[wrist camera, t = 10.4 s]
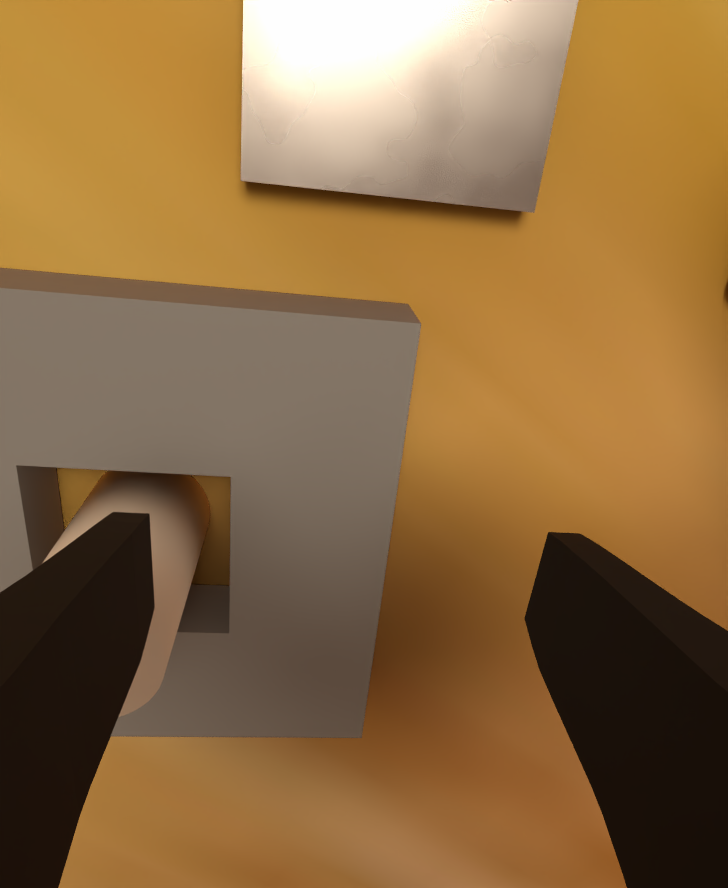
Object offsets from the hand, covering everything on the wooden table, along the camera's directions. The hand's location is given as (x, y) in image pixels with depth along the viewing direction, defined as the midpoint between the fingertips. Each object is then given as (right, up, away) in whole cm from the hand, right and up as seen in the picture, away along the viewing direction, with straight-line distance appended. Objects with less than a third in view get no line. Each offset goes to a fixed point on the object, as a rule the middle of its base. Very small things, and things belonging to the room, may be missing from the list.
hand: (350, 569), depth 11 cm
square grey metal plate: (+1, +13, +4) cm, 14 cm away
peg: (-7, 0, +10) cm, 12 cm away
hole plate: (-7, 0, +10) cm, 12 cm away
